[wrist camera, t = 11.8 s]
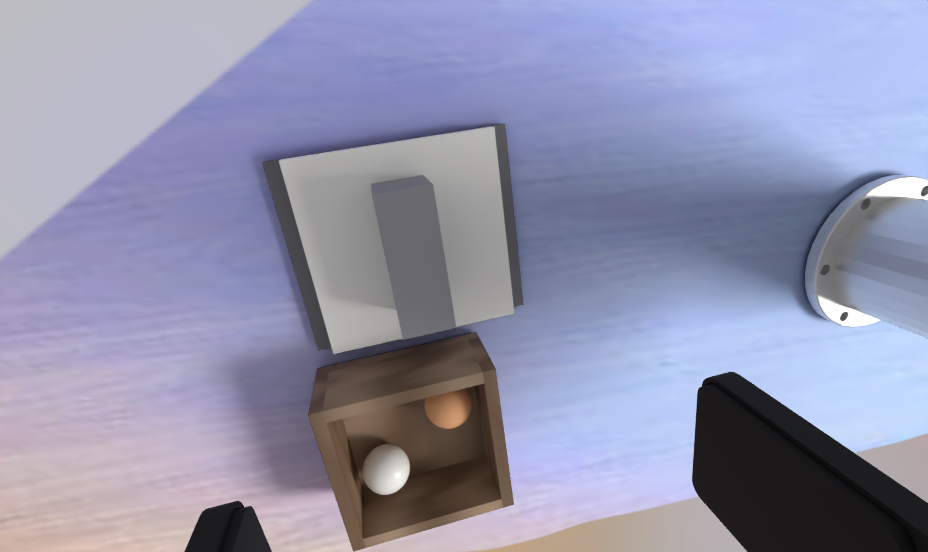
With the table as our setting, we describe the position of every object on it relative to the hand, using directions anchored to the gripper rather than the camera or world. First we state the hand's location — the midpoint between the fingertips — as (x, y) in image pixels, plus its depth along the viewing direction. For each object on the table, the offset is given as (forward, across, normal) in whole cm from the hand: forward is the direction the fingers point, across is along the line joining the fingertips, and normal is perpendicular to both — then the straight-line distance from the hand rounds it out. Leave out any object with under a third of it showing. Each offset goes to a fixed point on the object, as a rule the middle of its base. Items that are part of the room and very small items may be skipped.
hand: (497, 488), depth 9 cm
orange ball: (+18, 0, +11) cm, 21 cm away
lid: (+20, 0, 0) cm, 20 cm away
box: (+20, +2, +13) cm, 24 cm away
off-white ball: (+18, +5, +15) cm, 24 cm away
